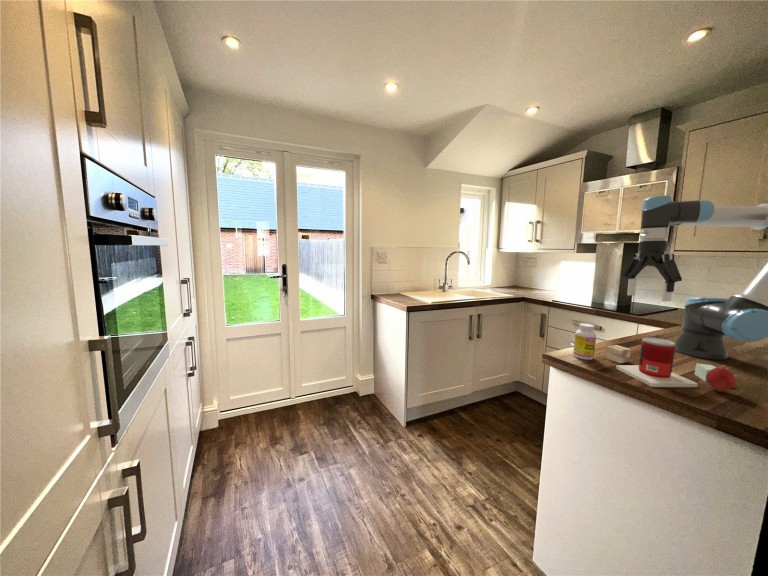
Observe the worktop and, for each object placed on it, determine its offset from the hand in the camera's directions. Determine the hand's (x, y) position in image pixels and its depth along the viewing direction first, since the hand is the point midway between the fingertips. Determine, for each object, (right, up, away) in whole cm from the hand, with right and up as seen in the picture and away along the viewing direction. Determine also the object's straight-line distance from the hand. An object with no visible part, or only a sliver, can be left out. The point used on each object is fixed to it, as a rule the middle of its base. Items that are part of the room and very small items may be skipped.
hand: (647, 298), depth 110 cm
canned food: (-10, -24, -13) cm, 29 cm away
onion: (+1, -27, -22) cm, 35 cm away
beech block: (-10, -24, +2) cm, 26 cm away
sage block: (+7, -26, -14) cm, 30 cm away
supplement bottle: (-21, -23, +5) cm, 32 cm away
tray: (-10, -26, -13) cm, 30 cm away
